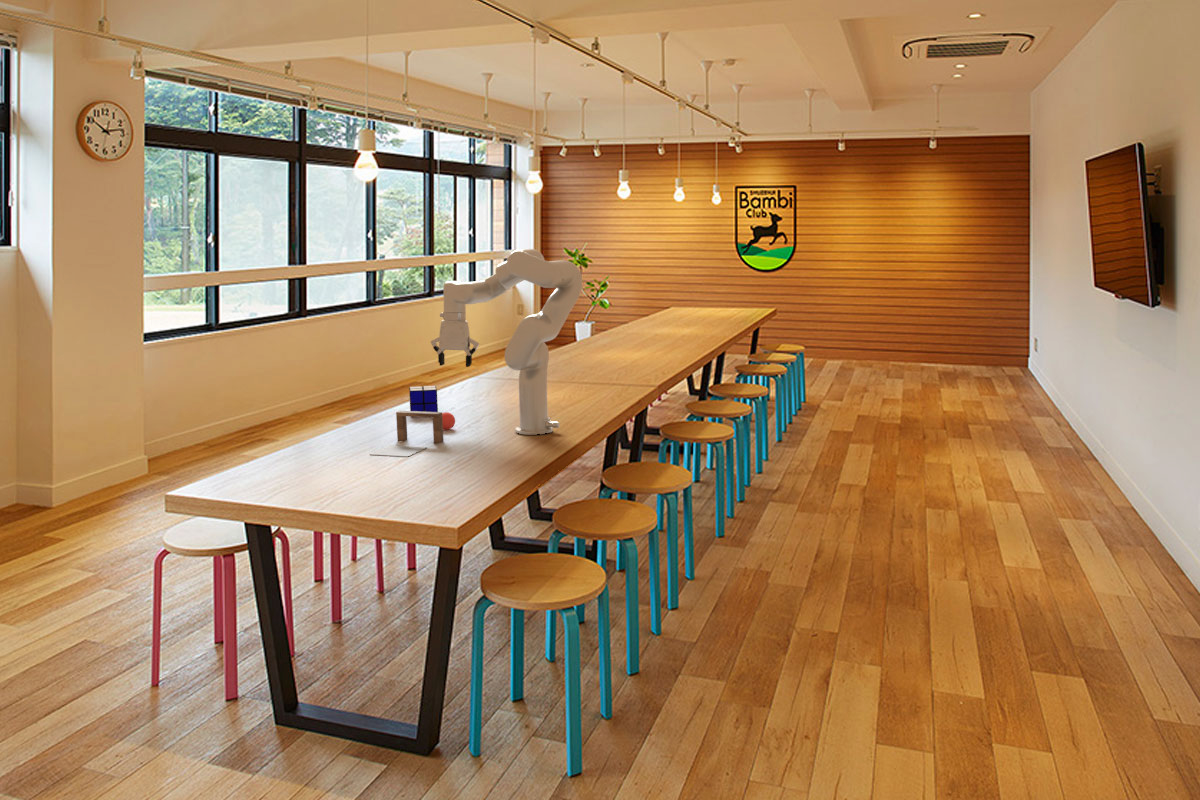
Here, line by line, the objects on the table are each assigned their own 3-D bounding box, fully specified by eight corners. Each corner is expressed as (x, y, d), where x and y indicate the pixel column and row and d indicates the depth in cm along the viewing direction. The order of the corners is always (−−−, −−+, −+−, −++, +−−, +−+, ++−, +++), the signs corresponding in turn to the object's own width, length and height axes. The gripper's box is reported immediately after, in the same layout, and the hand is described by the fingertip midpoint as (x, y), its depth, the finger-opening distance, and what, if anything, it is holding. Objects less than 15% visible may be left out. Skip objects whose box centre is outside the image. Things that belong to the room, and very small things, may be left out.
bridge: (401, 439, 333) (400, 410, 331) (443, 441, 329) (442, 412, 327) (397, 441, 330) (396, 412, 329) (439, 443, 326) (438, 414, 324)
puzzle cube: (410, 417, 372) (409, 390, 370) (410, 412, 382) (409, 386, 380) (438, 416, 374) (437, 389, 372) (437, 411, 384) (435, 385, 382)
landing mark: (426, 448, 320) (426, 447, 320) (407, 457, 307) (407, 456, 307) (390, 446, 323) (390, 445, 323) (369, 454, 311) (369, 454, 311)
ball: (458, 428, 350) (457, 411, 349) (451, 431, 345) (450, 414, 344) (442, 427, 352) (441, 410, 351) (435, 430, 346) (434, 413, 345)
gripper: (427, 317, 348) (427, 366, 351) (475, 319, 345) (475, 368, 348) (434, 314, 355) (435, 363, 358) (481, 316, 352) (482, 365, 355)
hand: (455, 365), depth 353 cm, fingers open, 9 cm apart
